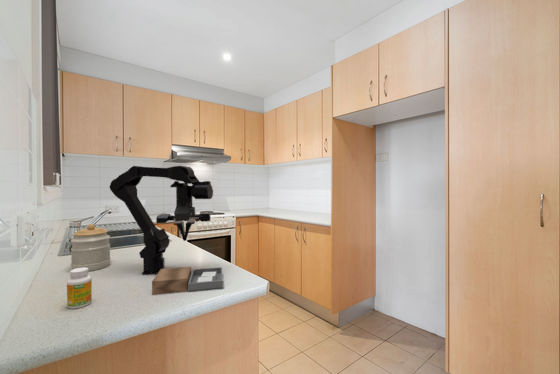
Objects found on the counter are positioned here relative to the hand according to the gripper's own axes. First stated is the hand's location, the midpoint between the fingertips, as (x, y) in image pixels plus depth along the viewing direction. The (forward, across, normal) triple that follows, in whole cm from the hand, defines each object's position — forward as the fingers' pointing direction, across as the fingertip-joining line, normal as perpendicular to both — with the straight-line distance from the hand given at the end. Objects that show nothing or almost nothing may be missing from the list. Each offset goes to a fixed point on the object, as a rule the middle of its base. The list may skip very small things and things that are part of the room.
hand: (184, 240), depth 97 cm
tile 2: (+10, +8, -16) cm, 21 cm away
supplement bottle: (+12, -25, -21) cm, 35 cm away
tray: (+12, +8, -12) cm, 19 cm away
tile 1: (+10, +9, -12) cm, 18 cm away
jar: (+12, -38, +16) cm, 43 cm away
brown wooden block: (+12, -2, -13) cm, 18 cm away
